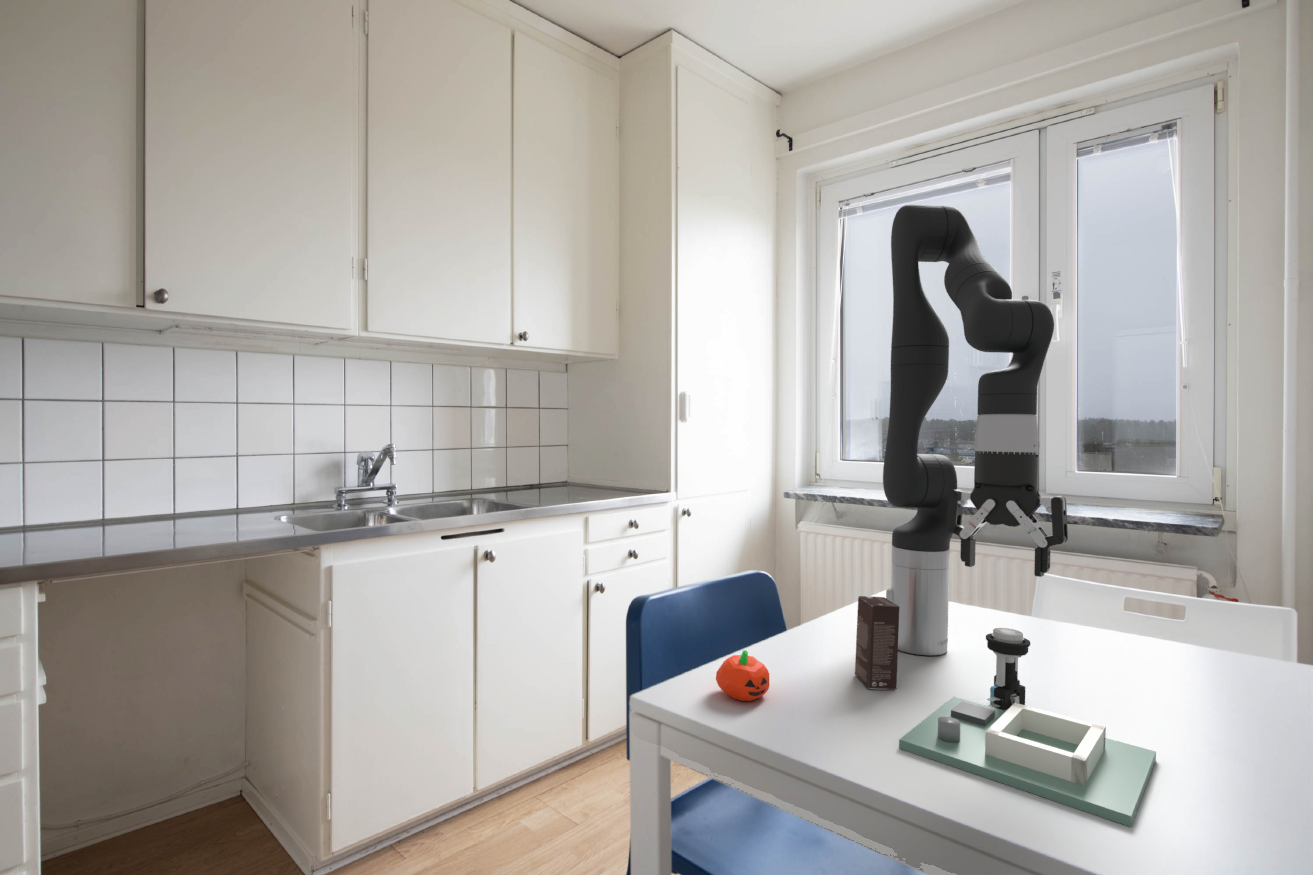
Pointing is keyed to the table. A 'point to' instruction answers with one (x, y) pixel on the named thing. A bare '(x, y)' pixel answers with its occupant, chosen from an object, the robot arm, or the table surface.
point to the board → (1038, 755)
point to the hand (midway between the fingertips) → (1003, 570)
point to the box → (877, 642)
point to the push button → (1007, 667)
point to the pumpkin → (743, 677)
